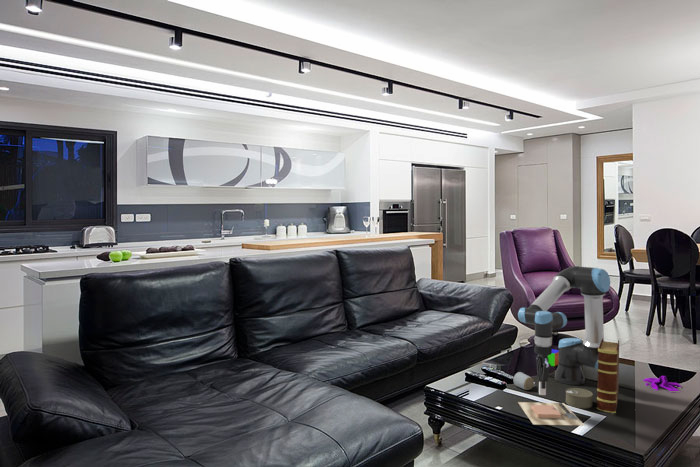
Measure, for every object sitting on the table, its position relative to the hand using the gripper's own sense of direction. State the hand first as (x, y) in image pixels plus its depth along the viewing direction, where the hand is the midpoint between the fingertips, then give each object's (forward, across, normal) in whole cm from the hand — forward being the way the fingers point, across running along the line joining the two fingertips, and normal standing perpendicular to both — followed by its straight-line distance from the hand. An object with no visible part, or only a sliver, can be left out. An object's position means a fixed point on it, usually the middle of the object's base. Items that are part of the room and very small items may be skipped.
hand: (542, 394), depth 226 cm
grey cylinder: (+9, -31, +1) cm, 32 cm away
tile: (+6, 0, 0) cm, 6 cm away
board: (+8, +4, +2) cm, 10 cm away
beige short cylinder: (+9, -8, +20) cm, 23 cm away
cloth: (+9, -36, +74) cm, 83 cm away
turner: (+7, +2, +11) cm, 13 cm away
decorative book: (+9, -9, +34) cm, 36 cm away
